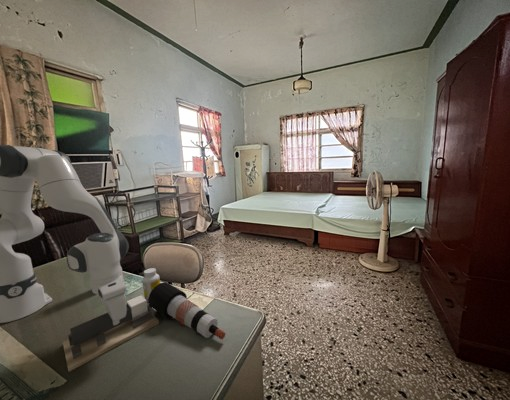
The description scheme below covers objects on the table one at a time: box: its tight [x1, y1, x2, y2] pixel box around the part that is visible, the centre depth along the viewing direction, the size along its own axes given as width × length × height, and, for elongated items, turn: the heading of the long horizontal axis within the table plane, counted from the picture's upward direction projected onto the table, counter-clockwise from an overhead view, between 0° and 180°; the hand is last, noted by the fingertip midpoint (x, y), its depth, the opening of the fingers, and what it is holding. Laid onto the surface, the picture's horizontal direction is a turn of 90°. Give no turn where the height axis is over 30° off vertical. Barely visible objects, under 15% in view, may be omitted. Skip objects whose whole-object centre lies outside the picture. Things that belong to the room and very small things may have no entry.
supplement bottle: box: [141, 267, 161, 303], centre depth 93 cm, size 7×7×13 cm
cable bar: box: [69, 294, 148, 346], centre depth 73 cm, size 5×21×5 cm, turn 136°
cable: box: [147, 281, 226, 341], centre depth 77 cm, size 10×34×10 cm, turn 54°
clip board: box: [62, 302, 160, 373], centre depth 73 cm, size 14×25×4 cm, turn 136°
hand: (113, 319), depth 73 cm, fingers closed on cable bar, 4 cm apart
